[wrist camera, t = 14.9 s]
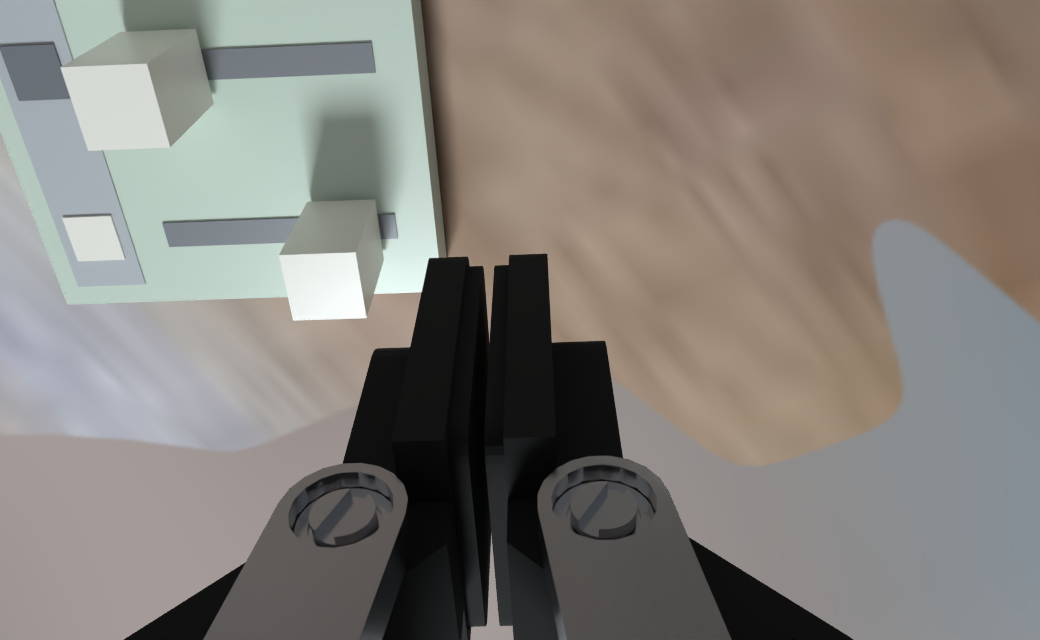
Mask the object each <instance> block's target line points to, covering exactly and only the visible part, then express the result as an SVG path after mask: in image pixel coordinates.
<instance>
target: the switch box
mask: <svg viewBox="0 0 1040 640" xmlns="http://www.w3.org/2000/svg"><path fill="white" fill-rule="evenodd" d="M177 29H196V32H197V37H198V41H199V45H200V49H201V53H202V57H203V61H204V65H205V70H206V74H207V78H208V82H209V86H210V90H211V94H212V98H213V102H214V104H213V105H212V106H211V107H210V108H209V109H208V110H207V111H206V112H205V113H204V114H203V115H202V116H201V117H200V118H199V119H198V120H197V121H196V122H195V123H194V124H193V125H192V126H191V127H190V128H189V129H188V130H187V131H186V132H185V133H184V134H183V135H182V136H181V137H180V138H179V139H178V140H177V141H176V142H175V143H174V144H173V145H172V146H171V147H170V148H147V149H122V150H98V151H88V149H87V146H86V143H85V140H84V137H83V134H82V131H81V128H80V125H79V122H78V119H77V116H76V113H75V110H74V107H73V104H72V101H71V98H70V95H69V92H68V89H67V86H66V83H65V80H64V77H63V74H62V71H61V68H60V67H62V66H63V65H65V64H67V63H68V62H70V61H72V60H74V59H75V58H77V57H79V56H80V55H82V54H84V53H85V52H87V51H89V50H90V49H92V48H94V47H96V46H97V45H99V44H101V43H102V42H104V41H106V40H107V39H109V38H111V37H113V36H114V35H116V34H118V33H119V32H132V31H155V30H177ZM0 132H1V135H2V137H3V140H4V142H5V145H6V147H7V150H8V153H9V155H10V158H11V160H12V163H13V165H14V168H15V171H16V173H17V176H18V178H19V181H20V183H21V186H22V189H23V191H24V194H25V196H26V199H27V201H28V204H29V207H30V209H31V212H32V214H33V217H34V220H35V222H36V225H37V227H38V230H39V232H40V235H41V238H42V240H43V243H44V245H45V248H46V250H47V253H48V256H49V258H50V261H51V263H52V266H53V268H54V271H55V274H56V276H57V279H58V281H59V284H60V287H61V289H62V292H63V294H64V297H65V299H66V302H67V305H71V304H99V303H127V302H155V301H184V300H212V299H240V298H268V297H288V294H287V290H286V285H285V281H284V276H283V272H282V267H281V263H280V259H279V254H280V252H281V250H282V248H283V246H284V244H285V243H286V241H287V239H288V237H289V235H290V233H291V231H292V229H293V228H294V226H295V224H296V222H297V220H298V218H299V216H300V214H301V212H302V211H303V209H304V207H305V205H306V203H307V202H318V201H344V200H370V199H375V202H376V209H377V215H378V222H379V229H380V236H381V243H382V249H383V256H384V262H383V265H382V268H381V272H380V275H379V278H378V282H377V285H376V288H375V292H374V294H381V293H410V292H422V289H423V284H424V279H425V274H426V269H427V264H428V260H429V258H446V257H447V254H446V244H445V235H444V225H443V215H442V205H441V195H440V185H439V176H438V166H437V156H436V146H435V136H434V126H433V117H432V107H431V97H430V87H429V77H428V67H427V58H426V48H425V38H424V28H423V18H422V9H421V0H0Z"/></svg>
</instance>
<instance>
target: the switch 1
mask: <svg viewBox="0 0 1040 640" xmlns="http://www.w3.org/2000/svg"><path fill="white" fill-rule="evenodd" d="M60 68H61V71H62V74H63V77H64V80H65V83H66V86H67V89H68V92H69V95H70V98H71V101H72V104H73V107H74V110H75V113H76V116H77V119H78V122H79V125H80V128H81V131H82V134H83V137H84V140H85V143H86V146H87V149H88V151H98V150H122V149H147V148H170V147H171V146H172V145H173V144H174V143H175V142H176V141H177V140H178V139H179V138H180V137H181V136H182V135H183V134H184V133H185V132H186V131H187V130H188V129H189V128H190V127H191V126H192V125H193V124H194V123H195V122H196V121H197V120H198V119H199V118H200V117H201V116H202V115H203V114H204V113H205V112H206V111H207V110H208V109H209V108H210V107H211V106H212V105H213V104H214V102H213V98H212V94H211V90H210V86H209V82H208V78H207V74H206V70H205V65H204V61H203V57H202V53H201V49H200V45H199V41H198V37H197V32H196V29H177V30H155V31H132V32H119V33H118V34H116V35H114V36H113V37H111V38H109V39H107V40H106V41H104V42H102V43H101V44H99V45H97V46H96V47H94V48H92V49H90V50H89V51H87V52H85V53H84V54H82V55H80V56H79V57H77V58H75V59H74V60H72V61H70V62H68V63H67V64H65V65H63V66H62V67H60Z"/></svg>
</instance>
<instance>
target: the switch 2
mask: <svg viewBox="0 0 1040 640" xmlns="http://www.w3.org/2000/svg"><path fill="white" fill-rule="evenodd" d="M279 259H280V263H281V267H282V272H283V276H284V281H285V285H286V290H287V294H288V299H289V303H290V308H291V312H292V317H293V321H294V320H323V319H352V318H367V315H368V311H369V308H370V305H371V301H372V298H373V295H374V292H375V288H376V285H377V282H378V278H379V275H380V272H381V268H382V265H383V262H384V256H383V249H382V243H381V236H380V229H379V222H378V215H377V209H376V202H375V199H370V200H344V201H318V202H307V203H306V205H305V207H304V209H303V211H302V212H301V214H300V216H299V218H298V220H297V222H296V224H295V226H294V228H293V229H292V231H291V233H290V235H289V237H288V239H287V241H286V243H285V244H284V246H283V248H282V250H281V252H280V254H279Z"/></svg>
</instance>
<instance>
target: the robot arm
mask: <svg viewBox="0 0 1040 640" xmlns="http://www.w3.org/2000/svg"><path fill="white" fill-rule="evenodd" d="M491 532H492V544H493V554H494V567H495V578H496V589H497V601H498V612H499V623H500V626H510V625H511V626H513V634H514V640H853V639H851V638H850V637H849V636H847V635H846V634H844V633H842V632H841V631H839V630H838V629H835V628H834V627H833V626H831V625H829V624H828V623H826V622H825V621H823V620H821V619H820V618H818V617H817V616H815V615H813V614H812V613H810V612H808V611H807V610H805V609H803V608H802V607H800V606H799V605H797V604H795V603H794V602H792V601H791V600H789V599H788V598H786V597H784V596H782V595H781V594H779V593H778V592H776V591H775V590H773V589H771V588H770V587H768V586H767V585H765V584H763V583H762V582H760V581H758V580H757V579H755V578H754V577H752V576H750V575H749V574H747V573H745V572H744V571H742V570H741V569H739V568H738V567H736V566H734V565H733V564H731V563H729V562H728V561H726V560H725V559H723V558H721V557H720V556H718V555H717V554H715V553H713V552H712V551H710V550H708V549H707V548H705V547H704V546H702V545H700V544H699V543H697V542H696V541H694V540H692V539H691V538H689V537H688V536H687V533H686V531H685V529H684V526H683V524H682V521H681V519H680V517H679V515H678V512H677V510H676V507H675V505H674V502H673V500H672V498H671V495H670V493H669V491H668V489H667V488H666V487H665V485H664V483H663V482H662V480H661V479H660V478H659V477H658V476H657V475H655V474H654V473H653V472H652V471H650V470H649V469H648V468H647V467H645V466H643V465H640V464H638V463H636V462H634V461H631V460H629V459H624V458H623V455H622V449H621V442H620V436H619V429H618V422H617V415H616V408H615V402H614V395H613V388H612V381H611V374H610V368H609V361H608V354H607V348H606V343H605V341H587V342H558V343H552V340H551V320H550V300H549V280H548V259H547V254H528V255H509V265H500V266H495V267H494V282H493V298H492V314H491V330H490V345H489V332H488V319H487V306H486V292H485V279H484V269H483V266H472V267H470V266H469V259H468V257H446V258H429V260H428V264H427V269H426V274H425V279H424V284H423V289H422V293H421V298H420V303H419V308H418V313H417V318H416V323H415V327H414V332H413V337H412V342H411V347H409V348H379V349H376V350H374V352H373V355H372V357H371V361H370V365H369V368H368V372H367V376H366V379H365V383H364V387H363V390H362V394H361V398H360V402H359V405H358V409H357V413H356V417H355V420H354V424H353V427H352V431H351V435H350V439H349V442H348V446H347V450H346V453H345V457H344V461H343V464H340V465H335V466H331V467H327V468H323V469H321V470H319V471H316V472H314V473H312V474H310V475H308V476H306V477H304V478H303V479H302V480H300V481H299V482H298V483H296V484H295V485H294V486H292V487H291V488H290V489H289V490H288V491H287V493H286V494H285V495H284V496H283V498H282V499H281V500H280V502H279V503H278V505H277V507H276V508H275V510H274V512H273V514H272V516H271V518H270V519H269V521H268V523H267V525H266V527H265V529H264V530H263V532H262V534H261V536H260V537H259V539H258V541H257V543H256V545H255V547H254V549H253V550H252V552H251V554H250V556H249V558H248V559H247V561H246V563H244V564H242V565H241V566H240V567H238V568H236V569H235V570H233V571H231V572H230V573H228V574H227V575H225V576H224V577H222V578H220V579H219V580H217V581H216V582H214V583H213V584H211V585H209V586H208V587H206V588H205V589H203V590H202V591H200V592H198V593H197V594H195V595H194V596H192V597H190V598H189V599H187V600H186V601H184V602H182V603H181V604H179V605H178V606H176V607H175V608H173V609H171V610H170V611H168V612H167V613H165V614H163V615H162V616H161V617H159V618H157V619H156V620H154V621H153V622H151V623H149V624H148V625H146V626H145V627H143V628H141V629H140V630H138V631H137V632H135V633H133V634H132V635H131V636H129V637H127V638H126V639H124V640H470V634H471V627H473V626H486V624H487V611H488V590H489V568H490V546H491Z"/></svg>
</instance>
